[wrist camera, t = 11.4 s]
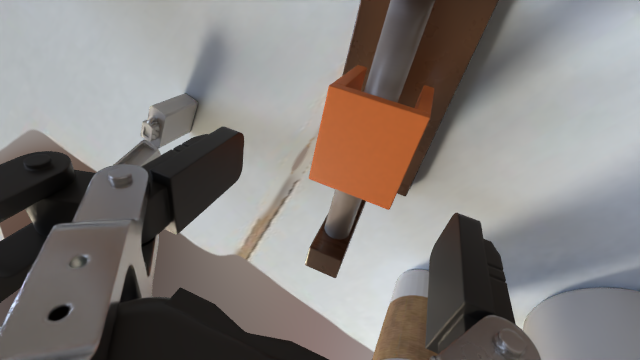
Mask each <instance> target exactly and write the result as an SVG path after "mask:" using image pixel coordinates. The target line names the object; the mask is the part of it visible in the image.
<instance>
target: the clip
mask: <svg viewBox="0 0 640 360" xmlns="http://www.w3.org/2000/svg"><path fill="white" fill-rule="evenodd" d="M366 71H367V68H366V67H364V66H360V65H357V66H356V67H354V68H353V69H351V70H350V71H349V72H347V73H346V74H345V75H343V76H342V77H340V78H339V79H338V80H336V81H335V82H334V83H332V84H331V85H329V88H328V93H327V97H326V102H325V106H324V111H323V115H322V120H321V125H320V129H319V134H318V138H317V143H316V147H315V152H314V157H313V161H312V166H311V170H310V175H309V179H311V180H313V181H316V182H319V183H321V184H324V185H326V186H329V187H331V188H334V189H337V190H339V191H342V192H344V193H347V194H349V195H352V196H355V197H357V198H360V199H362V200H365V201H367V202H370V203H373V204H375V205H378V206H380V207H383V208H385V209H388V210H389V209H390V207H391V205H392V203H393V201H394V198H395V196H396V194H397V192H398V190H399V187H400V185H401V183H402V181H403V178H404V176H405V174H406V172H407V169H408V167H409V165H410V163H411V160H412V158H413V156H414V154H415V151H416V149H417V147H418V145H419V143H420V140H421V138H422V136H423V134H424V131H425V129H426V127H427V125H428V122H429V120H430V116H431V109H432V102H433V96H434V88H433V87H429V86H426V85H424V86H423V88H422V91H421V93H420V96H419V98H418V101H417V103H416V106H415V108H412V107H409V106H406V105H403V104H399V103H396V102H393V101H390V100H387V99H384V98H381V97H378V96H374V95H371V94H368V93H365V92H362V91H361V88H362V85H363V81H364V78H365V74H366Z"/></svg>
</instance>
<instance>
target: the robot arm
mask: <svg viewBox="0 0 640 360" xmlns="http://www.w3.org/2000/svg"><path fill="white" fill-rule="evenodd" d="M243 149H244V136H243V134H242V133H240V132H237V131H235V130H232V129H229V128H226V127H221V128H219V129H217V130H216V131H214V132H212V133H210V134H209V135H208V134H205V135H201V136H197V137H193V138H191V139H189V140H188V141H186V142H184V143H182V145H179V146H177V147H175V148H174V149H173V150H170V151H168V152H166V153H164V154H163V155H161V156H159V157H157V158H156V159H154V160H152V161H150V162H148V163H147V164H145V165H143V166H141V167H140V166H137V165H131V164H119V165H113V166H109V167H106V168H104V169H102V170H100V171H98V172H97V173H92V172H85V171H79V170H74V169H73V166H72V163H71V160H70V158H69V157H68V156H67V155H65V154H63V153H59V152H52V151H50V152H49V151H45V152H35V153H31V154H27V155H23V156H20V157H18V158H15V159H13V160H11V161H8V162H6V163H3V164H1V165H0V222H2V221H4V220H6V219H7V218H10V217H11V216H13V215H15V214H17V213H19V212H20V211H22V210H24V209H26V211H27V213H28V215H29V217H30V219H31V221H32V223H30V224H29V225H27V226H25V227H24V228H22V229H21V230H19V231H17V232H15V233H14V234H12V235H10V236H9V237H7V238H5V239H3V240H2V241H0V302H1V301H3V300H4V299H6V298H7V297H8V296H10V295H11V294H13V293H14V292H15V291H17V290H18V289H19V288H21V289H20V291H19V293H18V295H17V297H16V299H15V301H14V303H13V304H12V306H11V308H10V310H9V312H8V314H7V316H6V318H5V320H4V322H3V324H2V326H1V328H0V360H329V359H326V358H325V357H323V356H320V355H318V354H316V353H314V352H312V351H310V350H308V349H306V348H304V347H302V346H300V345H298V344H296V343H293V342H292V341H287V340H281V339H276V338H271V337H266V336H260V335H255V334H250V333H247V332H245V331H244V330H242V329H241V328H240V327H239V326H238V325H237V324H236V323H235V322H234V321H233V320H231V319H230V318H229V317H228V316H227V315H226V314H225V313H224V312H223V311H222V310H221V309H219V308H218V307H217V306H216V305H215V304H213V303H211V302H209V301H207V300H205V299H203V298H201V297H199V296H197V295H195V294H193V293H191V292H189V291H187V290H185V289H183V288H179V289H178V290H177V292H176V293H175V294H174V295H173V296H172V297H171V298H167V297H165V298H164V297H152V283H153V276H154V269H155V263H156V255H157V248H158V242H159V236H158V234H159V233H160V232H161V231H162V230H164V229H166V230H168V231H170V232H172V233H174V234H178V233H179V232H181V231H182V230H183V229H184V228H185V227H186V226H187V225H188V224H189V223H191V222H192V221H193V220H194V219H195V218H196V217H197V216H198V215H200V214H201V213H202V212H203V211H204V210H205V209H206V208H207V207H209V206H210V205H211V204H212V203H213V202H214V201H215V200H216V199H217V198H219V197H220V196H221V195H222V194H223V193H224V192H225V191H226V190H228V189H229V188H230V187H231V186H232V185H233V184H234V183H235V182H236V181H237V180H238V179H239V177H240V175H241V172H242V166H243ZM505 281H506V279H505V275H504V272H503V266H502V261H501V256H500V254H499V253H498V251H497V250H496V248H495V247H494V245H493V244H492V242H490V241H488V240H485V239H483V234H482V228H481V223H480V221H477V220H475V219H472V218H469V217H467V216H464V215H461V214H458V213H455V214H454V215H453V216H452V218H451V219H450V221H449V222H448V224H447V226H446V227H445V229H444V230H443V232H442V234H441V235H440V237H439V238H438V240H437V242H436V243H435V245H434V247H433V250H432V252H431V256H430V263H429V283H428V302H427V322H426V341H425V348H426V349H428V350H430V351H433V352H435V353H437V354H438V355H437V356H432V357H430V358H429V359H428V360H541V358H540V355H539V352H538V350H537V348H536V346H535V345H534V343H533V342H532V340H531V339H530V338H529V337H528V335H527V334H526V333H525V332H524V331H523V330H521V329H520V328H519V327H518V326H517V325H516V324H515V320H514V315H513V311H512V306H511V302H510V297H509V293H508V288H507V284H506V283H505Z"/></svg>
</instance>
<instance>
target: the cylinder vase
mask: <svg viewBox="0 0 640 360" xmlns="http://www.w3.org/2000/svg"><path fill="white" fill-rule="evenodd" d="M523 331H524V332H525V333H526V334H527V335H528V337H529V338H530V339H531V340H532V342H533V343H534V345H535V346H536V348H537V350H538V352H539V355H540V358H541V360H640V291H634V290H628V289H620V288H586V289H578V290H573V291H568V292H564V293H561V294H558V295H555V296H553V297H550V298H548V299H546V300H544V301H543V302H541V303H540V304H538V305H537V306H536V307H535V308H533V309H532V311H531V312H530V313H529V314H528V316H527V318H526V320H525V322H524V326H523Z"/></svg>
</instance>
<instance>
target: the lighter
mask: <svg viewBox="0 0 640 360" xmlns="http://www.w3.org/2000/svg"><path fill="white" fill-rule="evenodd" d="M197 105H198V103H197V101H195V100H194V99H193V98H191V97H190V96H188V95H187V94H186V93H185V94H182V95H179V96H177V97H174V98H171V99H168V100H166V101H163V102H160V103H157V104H155V105H152V106H150V109H149V115H148V120H145V121H143V123H142V130H141V136H142V137H143V138H144V139H146V140H142V141H141V142H140V143H139V144H138V145H137V146H135V147H134V148H133V149H132V150H131V151H129V152H128V153H127V154H126V155H125V156H123V157H122V158H121V159H120V160H119V161H118V162H116V163H115V164H114V165H119V164H131V165H137V166H140V167H141V166H143V165H145V164H147V163H148V162H150V161H152V160H154V159H156V158H157V157H159V156H161V154H160V151H159V149H158V148H160V147H162V146H164V145H166V144H168V143H170V142H172V141H173V140H175V139H177V138H179V137H181V136H183V135H185V134H187V133H189V132H190V130H191V127H192V123H193V119H194V116H195V112H196V109H197Z"/></svg>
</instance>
